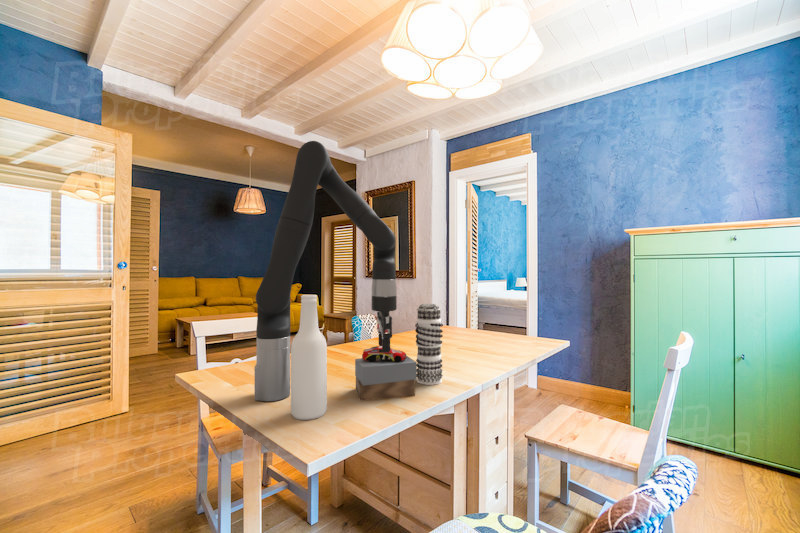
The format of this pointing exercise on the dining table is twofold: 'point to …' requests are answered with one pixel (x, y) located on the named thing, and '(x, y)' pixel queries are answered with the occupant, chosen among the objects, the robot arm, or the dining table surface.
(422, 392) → the dining table surface
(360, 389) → the bottom block
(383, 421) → the dining table surface
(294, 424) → the dining table surface
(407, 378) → the top block
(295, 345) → the white bottle
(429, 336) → the decorative candle
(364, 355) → the race car
